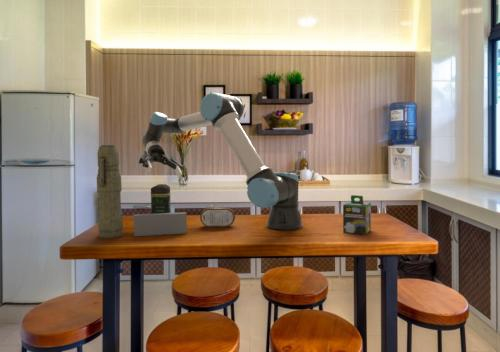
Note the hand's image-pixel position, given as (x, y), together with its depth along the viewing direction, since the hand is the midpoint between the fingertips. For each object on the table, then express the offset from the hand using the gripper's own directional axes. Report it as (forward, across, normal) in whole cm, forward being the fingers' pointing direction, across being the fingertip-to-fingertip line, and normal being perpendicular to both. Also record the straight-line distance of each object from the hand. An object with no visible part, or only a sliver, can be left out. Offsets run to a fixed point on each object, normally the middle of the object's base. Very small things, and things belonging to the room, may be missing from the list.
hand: (165, 173), depth 154 cm
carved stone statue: (+16, +19, -23) cm, 34 cm away
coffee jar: (+12, -2, -20) cm, 24 cm away
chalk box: (+53, -63, +14) cm, 84 cm away
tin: (+21, -22, -11) cm, 32 cm away
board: (+22, +2, -16) cm, 28 cm away
